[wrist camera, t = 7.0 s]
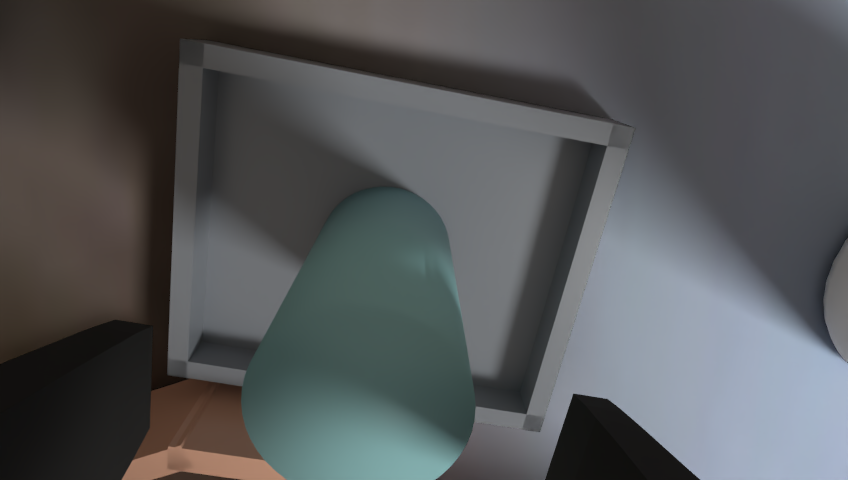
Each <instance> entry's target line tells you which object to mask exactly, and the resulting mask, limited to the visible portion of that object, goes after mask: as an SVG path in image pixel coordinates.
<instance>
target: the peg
mask: <svg viewBox="0 0 848 480" xmlns="http://www.w3.org/2000/svg"><path fill="white" fill-rule="evenodd" d="M241 407H242V416H243V420H244V424H245V427H246V430H247V432H248V435H249V437H250V439H251V441H252V443H253V444H254V446H255V448H256V450H257V451H258V452H259V454H260V455H261V456H262V457H263V459H264V460H265V461H266V462H267V463H268V464H269V465H270V466H271V467H272V468H273V469H274V470H275V471H276V472H277V473H279V474H280V475H281V476H283V477H284V478H285V479H287V480H435V479H437V478H438V477H439V476H441V475H442V474H443V473H444V472H445V471H446V470H447V469H449V468H450V467H451V466H452V465H453V463H454V462H455V461H456V460H457V458H458V457H459V456H460V454H461V453H462V451H463V449H464V448H465V446H466V444H467V442H468V440H469V437H470V435H471V432H472V428H473V424H474V420H475V408H476V405H475V393H474V387H473V381H472V375H471V369H470V363H469V357H468V351H467V345H466V339H465V333H464V327H463V321H462V315H461V309H460V303H459V297H458V291H457V285H456V279H455V273H454V267H453V261H452V255H451V249H450V243H449V237H448V233H447V230H446V227H445V225H444V223H443V221H442V219H441V217H440V216H439V214H438V213H437V212H436V210H435V209H434V208H433V207H432V206H431V205H430V204H429V203H428V202H426V201H425V200H424V199H423V198H421V197H419V196H418V195H416V194H414V193H412V192H409V191H407V190H404V189H400V188H395V187H382V186H381V187H372V188H368V189H364V190H361V191H358V192H356V193H354V194H352V195H350V196H349V197H347V198H346V199H344V200H343V201H342V202H341V203H340V204H339V205H337V206H336V207H335V209H334V210H333V211H332V212H331V214H330V216H329V217H328V219H327V221H326V223H325V224H324V226H323V228H322V230H321V232H320V234H319V235H318V237H317V239H316V241H315V243H314V245H313V247H312V248H311V250H310V252H309V254H308V256H307V258H306V260H305V261H304V263H303V265H302V267H301V269H300V271H299V273H298V274H297V276H296V278H295V280H294V282H293V284H292V286H291V287H290V289H289V291H288V293H287V295H286V297H285V299H284V300H283V302H282V304H281V306H280V308H279V310H278V312H277V313H276V315H275V317H274V319H273V321H272V323H271V325H270V326H269V328H268V330H267V332H266V334H265V336H264V337H263V339H262V341H261V343H260V345H259V347H258V349H257V350H256V352H255V354H254V356H253V358H252V360H251V362H250V364H249V366H248V369H247V371H246V374H245V377H244V381H243V385H242V394H241Z"/></svg>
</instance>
